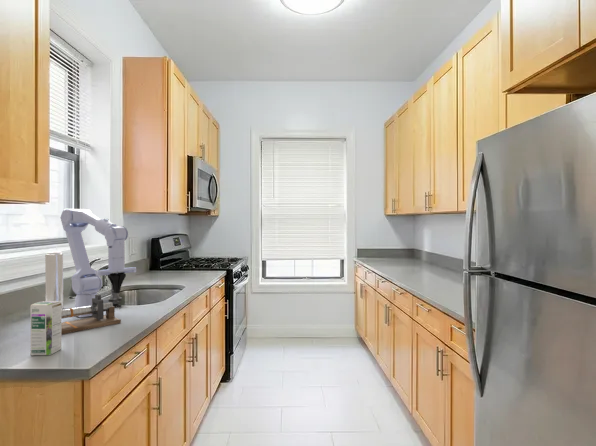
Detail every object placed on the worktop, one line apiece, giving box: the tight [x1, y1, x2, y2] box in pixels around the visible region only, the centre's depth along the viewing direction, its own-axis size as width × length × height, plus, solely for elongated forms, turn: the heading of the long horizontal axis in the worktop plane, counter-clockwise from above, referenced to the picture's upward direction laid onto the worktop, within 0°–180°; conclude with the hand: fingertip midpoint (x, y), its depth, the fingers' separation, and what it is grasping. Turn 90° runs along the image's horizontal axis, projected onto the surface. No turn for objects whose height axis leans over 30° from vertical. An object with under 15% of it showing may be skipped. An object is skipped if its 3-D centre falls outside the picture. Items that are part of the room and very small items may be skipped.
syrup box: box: [29, 300, 62, 357], centre depth 111 cm, size 6×6×14 cm
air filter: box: [44, 251, 64, 310], centre depth 166 cm, size 6×6×25 cm
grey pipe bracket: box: [91, 293, 105, 320], centre depth 143 cm, size 7×2×8 cm, turn 47°
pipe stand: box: [61, 302, 122, 335], centre depth 139 cm, size 12×22×7 cm, turn 137°
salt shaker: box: [107, 284, 123, 308], centre depth 171 cm, size 6×6×12 cm
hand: (116, 292), depth 148 cm, fingers closed
